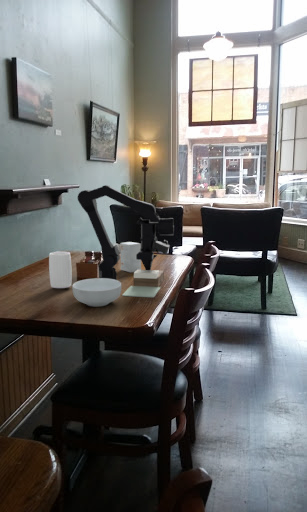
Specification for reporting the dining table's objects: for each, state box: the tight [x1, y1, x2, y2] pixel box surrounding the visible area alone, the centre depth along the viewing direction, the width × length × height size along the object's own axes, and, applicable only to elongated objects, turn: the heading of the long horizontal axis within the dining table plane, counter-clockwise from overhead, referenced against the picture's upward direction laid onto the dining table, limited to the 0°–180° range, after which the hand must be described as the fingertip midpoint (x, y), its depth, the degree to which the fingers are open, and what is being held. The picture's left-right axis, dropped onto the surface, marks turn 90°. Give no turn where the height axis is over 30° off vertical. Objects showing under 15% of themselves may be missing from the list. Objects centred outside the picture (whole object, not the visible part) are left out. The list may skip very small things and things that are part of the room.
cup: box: [48, 250, 73, 289], centre depth 166 cm, size 8×8×14 cm
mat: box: [121, 285, 162, 298], centre depth 162 cm, size 14×12×1 cm
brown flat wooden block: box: [133, 269, 165, 287], centre depth 175 cm, size 14×10×4 cm
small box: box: [119, 241, 142, 273], centre depth 198 cm, size 8×6×13 cm
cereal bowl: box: [71, 277, 122, 308], centre depth 147 cm, size 17×17×7 cm
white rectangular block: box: [133, 269, 160, 279], centre depth 169 cm, size 6×9×2 cm, turn 80°
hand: (148, 273), depth 173 cm, fingers closed
